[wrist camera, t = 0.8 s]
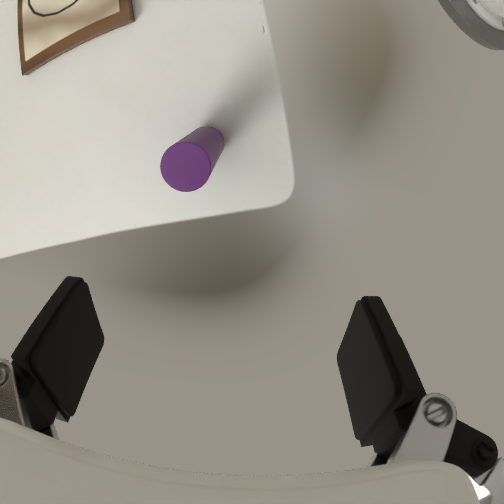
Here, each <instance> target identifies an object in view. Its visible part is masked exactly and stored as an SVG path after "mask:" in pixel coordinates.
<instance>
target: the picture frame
mask: <svg viewBox="0 0 504 504" xmlns="http://www.w3.org/2000/svg"><path fill="white" fill-rule="evenodd" d="M132 22H134V16H133V9H132V2H131V0H18V36H19V50H20V61H21V70H22V75H28V74H30V73H31V72H33V71H34V70H36V69H38V68H39V67H41V66H42V65H44V64H46V63H47V62H49V61H51V60H53V59H54V58H56V57H58V56H60V55H61V54H63V53H65V52H67V51H69V50H71V49H73V48H75V47H77V46H79V45H81V44H83V43H85V42H87V41H89V40H91V39H93V38H95V37H97V36H100V35H102V34H104V33H106V32H109V31H111V30H114V29H116V28H119V27H121V26H124V25H126V24H129V23H132Z"/></svg>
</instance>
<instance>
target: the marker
mask: <svg viewBox="0 0 504 504" xmlns="http://www.w3.org/2000/svg"><path fill="white" fill-rule="evenodd" d="M223 147H224V140H223V137H222V135H221V133H220V132H219V131H218V130H216V129H215V128H212V127H207V126H206V127H200V128H198V129H196V130H195V131H193V132H192V133H190V134H189V135H187V136H186V137H184V138H183V139H181V140H180V141H178V142H177V143H175V144H174V145H172V146H171V147H169V148H168V149H167V150H166V152H165V153H164V155H163V157H162V159H161V165H160V168H161V174H162V176H163V178H164V180H165V181H166V183H167V184H168V185H169V186H171V187H172V188H174V189H176V190H178V191H183V192H190V191H194V190H197V189H199V188H200V187H202V186H203V185H204V184H205V183H206V182H207V180H208V178H209V176H210V174H211V172H212V170H213V168H214V166H215V164H216V162H217V160H218V158H219V156H220V154H221V152H222V150H223Z"/></svg>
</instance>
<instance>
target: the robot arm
mask: <svg viewBox="0 0 504 504" xmlns="http://www.w3.org/2000/svg"><path fill="white" fill-rule="evenodd" d="M466 1H467V3H468V4H469V5H470V7H471V8H472V9H473V10H474V11H475V13H476V14H477V15H478V16H479V17H480V18H481V19H482V20H484V21H485V22H486V23H487V24H489V25H490V26H492V27H494V28H495V29H498V30H502V31H504V0H466ZM103 344H104V335H103V332H102V329H101V326H100V323H99V320H98V317H97V314H96V311H95V308H94V305H93V301H92V298H91V294H90V291H89V287H88V284H87V283H86V282H84V280H83V279H82V278H80V277H71V276H68V277H66V278H65V279H64V281H63V282H62V283H61V284H60V286H59V287H58V289H57V290H56V291H55V292H54V294H53V295H52V296H51V298H50V299H49V300H48V302H47V303H46V305H45V306H44V307H43V309H42V310H41V312H40V313H39V315H38V316H37V317H36V319H35V320H34V322H33V323H32V324H31V326H30V327H29V329H28V330H27V332H26V334H25V335H24V336H23V338H22V340H21V341H20V343H19V344H18V346H17V348H16V349H15V351H14V352H13V354H12V356H11V357H12V359H13V361H12V363H10V362H9V361H8V360H6V359H2V358H0V504H504V459H503V458H502V457H500V458H499V459H498V458H497V456H498V450H497V446H496V444H495V442H494V441H493V439H491V438H490V437H489V436H487V435H485V434H483V433H481V432H480V431H478V430H475V429H474V428H472V427H470V426H468V425H467V424H465V423H463V422H461V421H459V420H457V411H456V407H455V406H454V404H453V402H452V401H451V400H450V399H449V398H448V397H446V396H445V395H443V394H440V393H430V394H427V395H426V392H425V390H424V387H423V385H422V383H421V381H420V378H419V376H418V374H417V371H416V369H415V367H414V365H413V362H412V360H411V358H410V355H409V353H408V351H407V349H406V347H405V345H404V343H403V341H402V338H401V337H400V335H399V334H398V332H397V330H396V327H395V326H394V323H393V321H392V319H391V317H390V315H389V313H388V311H387V309H386V307H385V306H384V304H383V302H382V300H381V298H380V297H378V296H364V297H362V299H361V300H358V301H357V302H356V305H355V308H354V311H353V313H352V316H351V319H350V322H349V324H348V327H347V330H346V332H345V335H344V337H343V340H342V343H341V345H340V348H339V350H338V353H337V362H338V366H339V371H340V375H341V379H342V383H343V386H344V391H345V395H346V399H347V403H348V408H349V412H350V417H351V421H352V426H353V430H354V435H355V438H356V439H357V440H360V443H361V447H364V446H370V445H373V447H374V452H375V454H374V456H373V457H372V459H371V461H370V462H369V464H368V465H367V467H366V468H359V469H352V470H345V471H337V472H327V473H317V474H305V475H289V476H288V475H286V476H239V475H221V474H208V473H198V472H189V471H182V470H175V469H168V468H162V467H157V466H151V465H146V464H141V463H137V462H132V461H128V460H123V459H119V458H115V457H111V456H108V455H104V454H101V453H97V452H94V451H90V450H87V449H84V448H81V447H78V446H75V445H72V444H69V443H66V442H64V441H61V440H59V437H58V435H57V432H56V429H55V426H54V423H53V422H54V420H55V418H56V419H59V420H62V421H65V422H68V421H69V419H70V416H73V415H74V414H75V412H76V409H77V406H78V404H79V401H80V399H81V396H82V394H83V391H84V389H85V386H86V384H87V381H88V379H89V377H90V374H91V372H92V369H93V367H94V365H95V362H96V360H97V358H98V356H99V353H100V351H101V349H102V347H103Z"/></svg>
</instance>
